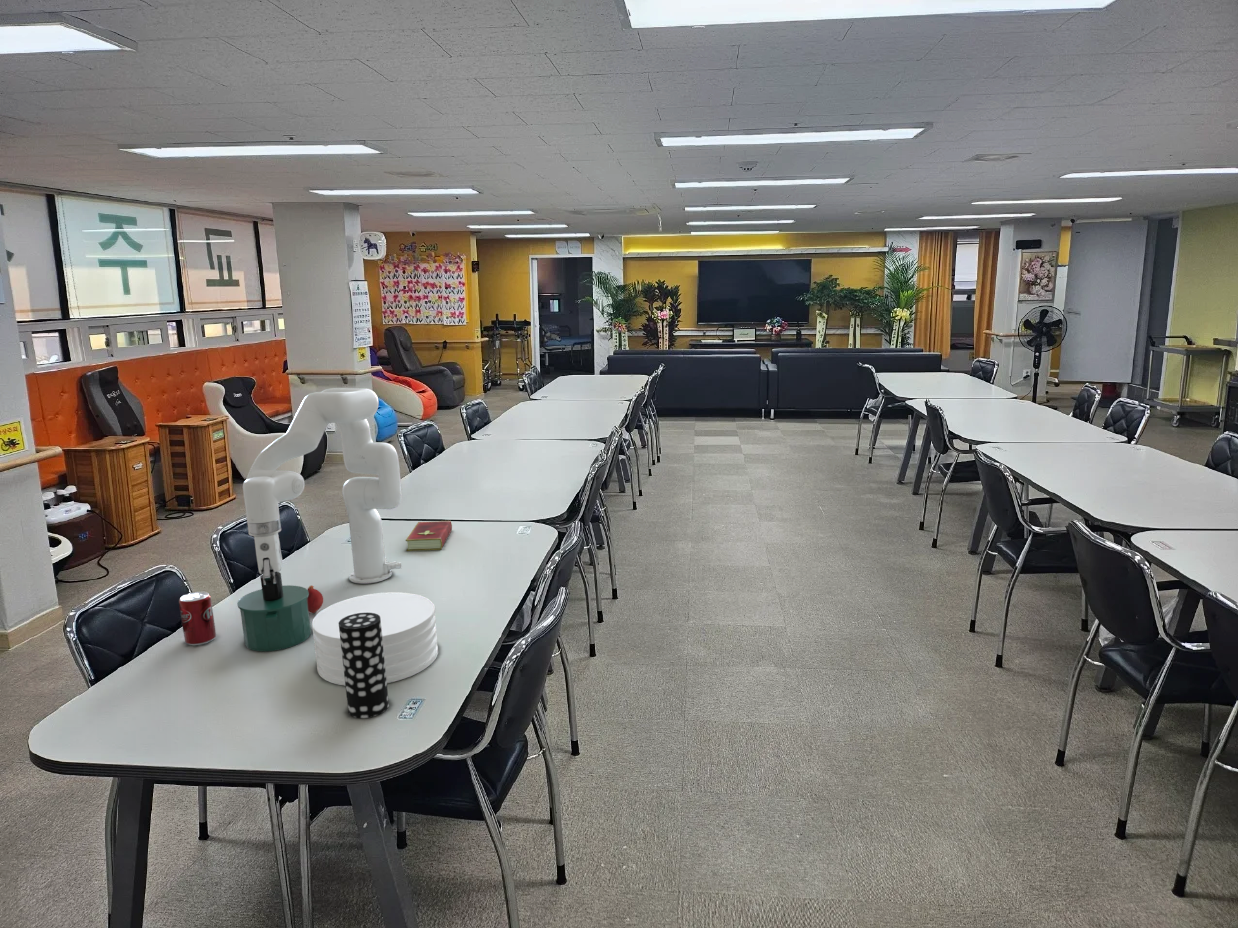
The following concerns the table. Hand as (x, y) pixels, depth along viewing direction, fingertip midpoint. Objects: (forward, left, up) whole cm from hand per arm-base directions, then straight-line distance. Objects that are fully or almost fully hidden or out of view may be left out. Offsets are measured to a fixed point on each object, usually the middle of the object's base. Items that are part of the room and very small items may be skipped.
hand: (273, 594), depth 209 cm
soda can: (+19, -6, -12) cm, 23 cm away
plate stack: (-24, +22, -12) cm, 35 cm away
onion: (-8, -14, -12) cm, 20 cm away
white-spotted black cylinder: (-21, +46, -12) cm, 52 cm away
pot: (0, 0, -12) cm, 12 cm away
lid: (0, 0, -1) cm, 1 cm away
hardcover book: (-45, -68, -12) cm, 82 cm away
